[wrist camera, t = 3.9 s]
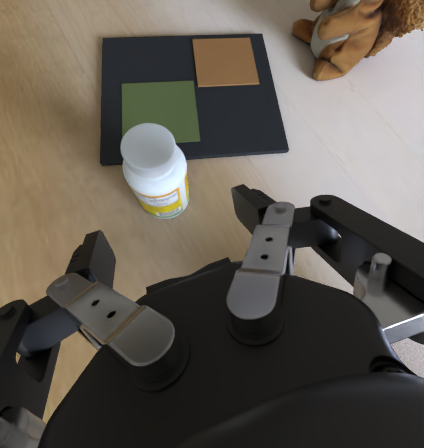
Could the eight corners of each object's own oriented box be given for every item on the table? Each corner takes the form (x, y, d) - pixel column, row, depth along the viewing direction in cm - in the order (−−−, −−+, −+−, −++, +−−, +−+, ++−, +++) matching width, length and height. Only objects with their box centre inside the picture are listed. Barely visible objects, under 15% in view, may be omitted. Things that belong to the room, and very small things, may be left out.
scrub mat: (102, 166, 27) (99, 162, 26) (104, 42, 32) (101, 36, 31) (287, 152, 29) (289, 148, 28) (261, 37, 34) (262, 31, 33)
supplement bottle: (171, 229, 25) (155, 193, 16) (131, 203, 26) (93, 154, 17) (199, 190, 27) (198, 137, 17) (160, 167, 27) (140, 103, 18)
